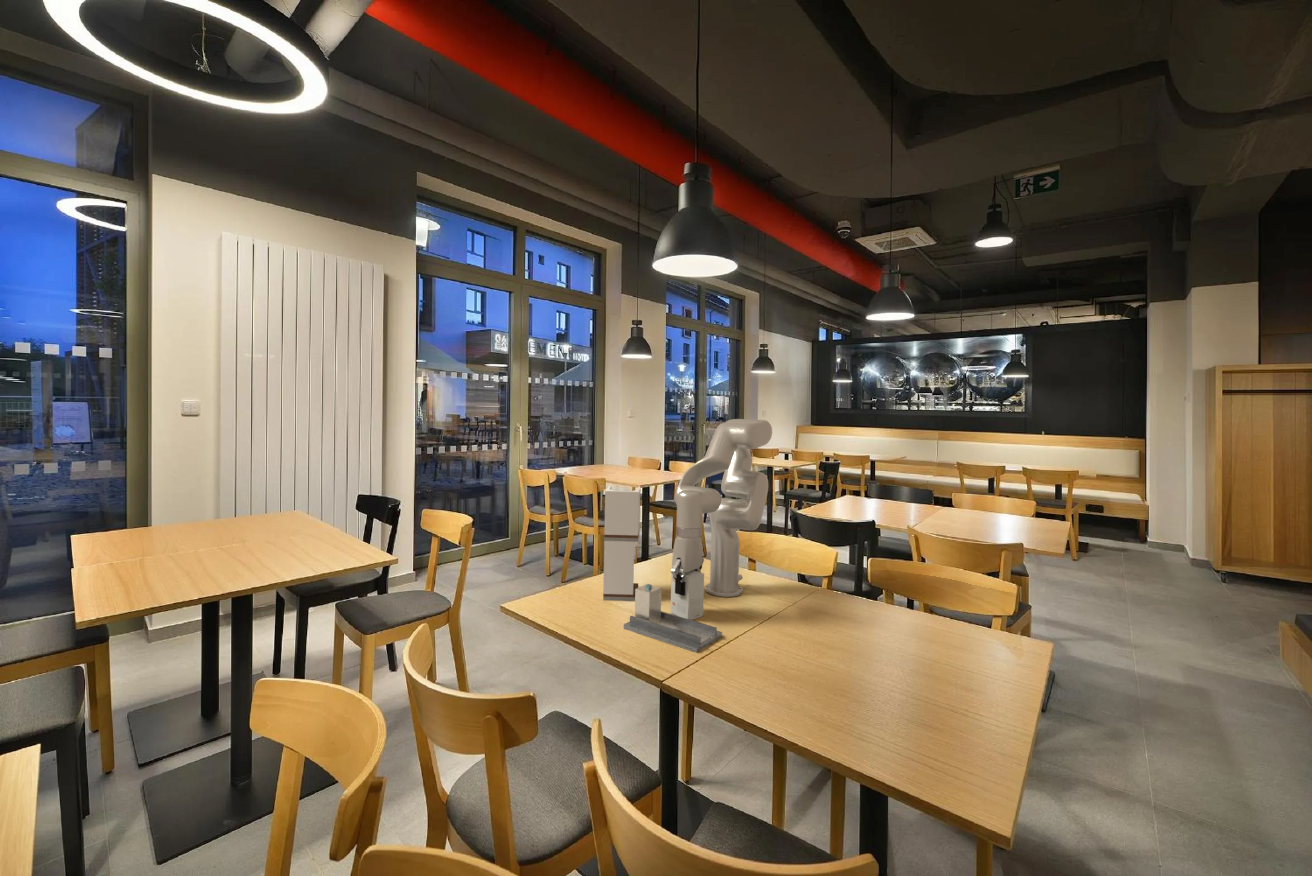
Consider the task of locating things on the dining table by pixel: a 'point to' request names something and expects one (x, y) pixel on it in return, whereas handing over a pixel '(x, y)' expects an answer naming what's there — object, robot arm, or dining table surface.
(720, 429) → the robot arm
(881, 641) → the dining table surface
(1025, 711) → the dining table surface
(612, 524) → the tall banded cabinet
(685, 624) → the rail board
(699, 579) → the small box
